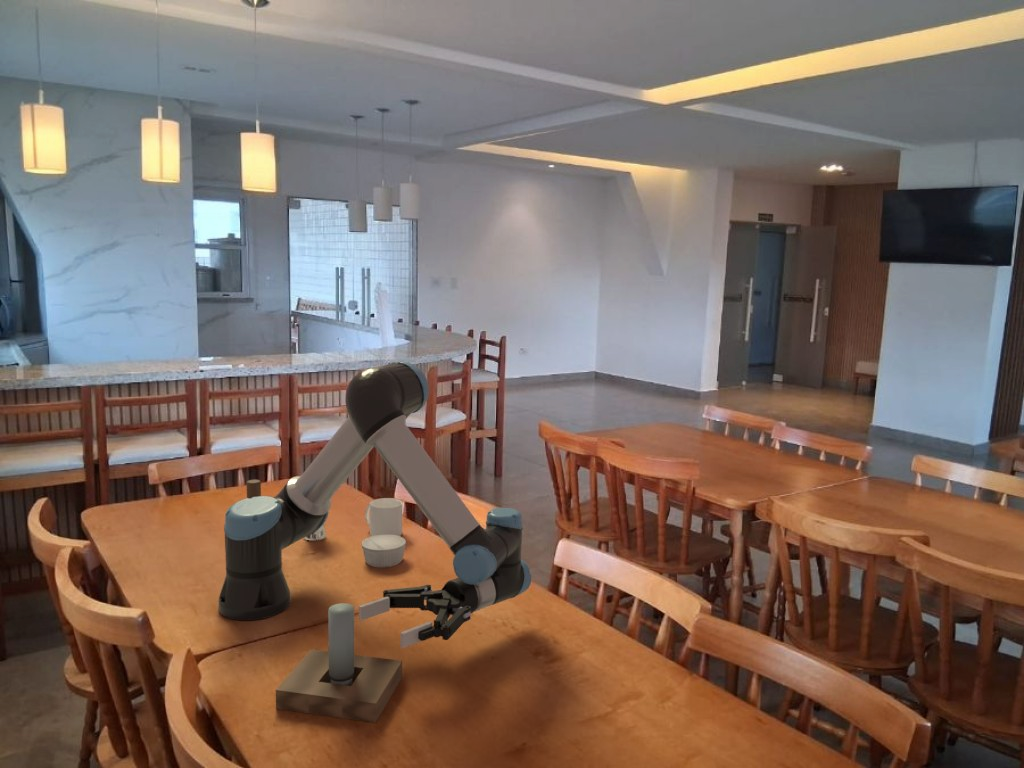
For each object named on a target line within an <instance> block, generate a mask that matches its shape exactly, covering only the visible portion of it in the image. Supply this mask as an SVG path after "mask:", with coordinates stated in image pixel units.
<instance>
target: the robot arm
mask: <svg viewBox="0 0 1024 768" xmlns="http://www.w3.org/2000/svg"><path fill="white" fill-rule="evenodd" d="M429 395H430V388H429V381H428V378H427V376H426V375H425V374H424V372H423V371H422V369H420V368H419V367H418V366H417V365H415V364H413V363H411V362H407V361H393V362H390V363H388V364H384V365H380V366H376V367H368V368H366V369H362V370H360V372H358V373H356V375H354V376H353V377H352V379H351V380H350V381H349V383H348V385H347V388H346V391H345V401H344V402H345V409H346V411H347V415H348V416H347V418H346V419H345V420H344V422H343V423H342V424H341V426H340V427H339V428H338V429H337V431H336V432H335V433H334V435H333V436H332V437H331V438H330V439H329V441H328V442H327V443H326V444H325V445H324V447H323V448H322V449H321V450H320V452H319V453H318V454H317V456H316V457H315V458H314V459H313V460H312V462H311V463H310V464H309V465H308V467H307V468H306V469H305V471H303V473H302V474H301V475H296V476H293V477H291V478H290V479H289V480H288V481H287V483H286V484H285V485H284V486H283V487H282V488H281V490H280V491H279V493H278V494H276V495H275V496H274V497H272V496H269V495H267V496H266V495H261V496H256V497H252V498H247V497H246V498H243V499H241V500H238V501H237V502H234V503H233V504H231V505H230V506H229V507H228V508H227V511H226V512H225V516H224V525H223V532H224V551H225V572H226V573H225V577H224V581H223V583H222V588H221V590H220V593H219V596H218V612H219V613H220V614H221V616H223V617H225V618H228V619H232V620H235V621H236V620H237V621H256V620H262V619H266V618H270V617H274V616H275V615H278V614H281V613H282V612H283V611H285V610H287V608H289V606H290V604H291V590H290V588H289V585H288V582H287V580H286V577H285V573H284V572H283V567H282V566H283V563H282V560H283V559H282V550H284V549H286V548H287V547H289V546H291V545H293V544H295V543H296V542H298V541H300V540H302V539H304V537H307V536H309V535H311V534H313V533H315V532H316V531H317V530H318V529H319V528H321V527H322V525H323V524H324V523H326V521H327V519H328V518H329V517H328V516H329V512H330V510H331V507H332V500H331V499H332V498H333V496H334V495H335V494H336V493H337V492H338V491H339V489H340V488H341V487H342V485H343V484H344V483H345V482H346V481H347V480H348V478H349V477H351V474H352V473H354V471H355V470H356V468H357V467H359V465H360V464H361V463H362V461H364V459H365V458H366V457H367V456H368V455H369V453H370V452H371V451H372V450H373V448H375V449H376V451H377V452H378V454H379V455H380V456H381V458H382V459H383V460H384V462H385V463H386V464H387V467H389V468H390V470H391V471H392V472H393V474H394V475H395V477H396V478H397V479H398V481H399V482H400V483H401V485H402V486H403V488H404V489H405V490H406V491H407V493H408V494H409V495H410V497H411V498H412V500H413V501H414V502H415V504H416V505H417V506H418V508H419V509H420V510H421V512H422V513H423V514H424V516H425V517H426V519H427V520H428V521H429V523H430V524H431V525H432V527H433V528H434V529H435V531H436V532H437V534H438V535H439V536H440V538H441V539H442V540H443V542H445V544H446V545H447V547H448V548H449V549H450V551H451V552H452V554H453V555H454V557H453V559H452V566H453V570H454V574H455V575H456V577H455V578H453V579H451V580H448V581H447V582H446V583H445V584H444V586H443V587H442V588H441V589H439V590H433V589H432V585H431V584H424V585H421V586H412V587H403V588H402V587H401V588H392V589H385V590H384V589H383V592H382V596H383V597H381V598H378V599H375V600H372V601H370V602H367V603H362V604H360V605H359V606H358V620H359V621H364V620H368V619H370V618H373V617H375V616H378V615H381V614H384V613H387V612H389V611H390V609H419V610H420V611H429V612H430V613H431V612H432V613H433V614H434V615H435V616H436V617H435V619H433V622H432V621H431V620H430V621H426V622H423V623H422V624H419V625H417V626H415V627H414V626H413V627H412V628H409V629H406V630H403V631H401V632H400V647H401V648H402V649H405V648H408V647H410V646H412V645H414V644H417V643H419V642H423V641H427V640H428V639H431V638H439V637H442V640H444V641H448V640H450V639H451V637H452V636H454V634H455V633H456V632H457V630H459V628H461V626H462V625H463V624H464V623H466V622H469V621H470V620H471V614H474V612H479V611H481V610H482V609H485V608H487V607H488V608H489V607H490V606H493V605H494V606H495V605H496V604H498V603H501V602H504V601H506V600H509V599H513V598H515V597H517V596H519V595H521V594H524V593H525V592H526V591H527V590H528V589H529V588H530V586H531V583H532V574H531V573H530V567H529V565H528V563H526V562H525V561H524V560H523V559H522V540H523V539H522V538H523V529H524V528H523V515H522V513H521V512H520V511H519V510H517V509H515V508H510V507H495V508H492V509H490V510H489V511H488V512H487V514H486V521H485V524H486V525H485V526H486V527H485V529H484V528H483V527H482V526H481V524H480V523H479V522H478V520H477V519H476V517H475V516H474V514H473V513H472V512H471V511H470V509H469V508H468V507H467V505H466V504H465V502H464V501H463V500H462V498H461V497H460V496H459V494H458V493H457V492H456V490H455V489H454V488H453V486H452V485H451V484H450V482H449V481H448V479H446V477H445V476H444V474H443V473H442V471H441V470H440V469H439V467H438V466H437V465H436V463H435V462H434V461H433V459H432V457H430V456H429V454H428V453H427V451H426V450H425V449H424V447H423V446H422V444H421V443H420V442H419V440H418V439H417V438H416V437H415V435H414V434H413V432H412V431H411V430H410V428H409V427H408V426H407V424H406V421H407V419H408V417H409V416H410V415H411V414H414V413H416V412H419V411H420V410H422V408H423V407H424V406H425V405H426V403H427V401H428V400H429ZM425 602H426V604H425Z"/></svg>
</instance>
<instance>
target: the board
mask: <svg viewBox="0 0 1024 768" xmlns="http://www.w3.org/2000/svg"><path fill="white" fill-rule="evenodd" d="M402 679H403V660H399V659H392V658H383V657H376V656H367V655H359V654H358V655H357V654H354V676H353V677H352V685H351V686H347V685H340V684H332V683H331V679H330V678H329V650H328V651H326V650H320V649H310V650H309V651H308V652H307V653H306V655H305V656H304V657H303V658H302V659H301V660H300V662H299V663H298V664H297V665H296V666H295V667H294V668H293V670H291V672H290V673H289V674H288V675H287V676H286V677H285V679H284V680H283V681H282V682H281V683H280V684H279V686H278V687H277V688H275V709H276V710H283V711H291V712H297V713H306V714H312V715H318V716H326V717H333V718H338V719H339V718H340V719H341V718H342V719H347V720H353V721H360V722H361V721H362V722H368V723H369V722H370V723H375V724H376V723H377V721H378V720H379V718H380V716H381V715H382V713H383V712H384V709H385V708H386V706H387V704H388V703H389V701H390V699H391V698H392V696H393V694H394V693H395V690H396V689H397V687H398V686H399V684H400V683H401V681H402ZM399 682H400V683H399Z"/></svg>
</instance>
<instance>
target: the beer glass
mask: <svg viewBox="0 0 1024 768" xmlns="http://www.w3.org/2000/svg"><path fill="white" fill-rule="evenodd" d="M325 523H326V522H325ZM325 523H324V524H323V525H322V527H321V528H319V529H318V530H317V531H316V532H315V533H313V534H311V535H309V536H307V537H304V538H303V539H304V540H306V541H307V540H309V541H308V542H318V540H319V541H322V539H323V540H324V538H325V537H326V538H327V533H326V528H325V527H326V526H325ZM326 538H325V539H326ZM316 540H317V541H316Z"/></svg>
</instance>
